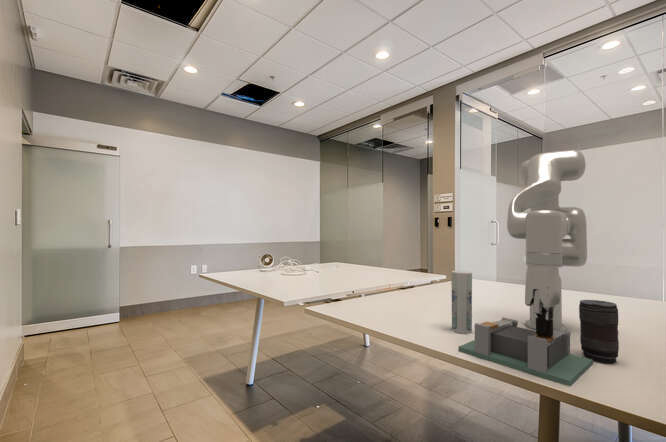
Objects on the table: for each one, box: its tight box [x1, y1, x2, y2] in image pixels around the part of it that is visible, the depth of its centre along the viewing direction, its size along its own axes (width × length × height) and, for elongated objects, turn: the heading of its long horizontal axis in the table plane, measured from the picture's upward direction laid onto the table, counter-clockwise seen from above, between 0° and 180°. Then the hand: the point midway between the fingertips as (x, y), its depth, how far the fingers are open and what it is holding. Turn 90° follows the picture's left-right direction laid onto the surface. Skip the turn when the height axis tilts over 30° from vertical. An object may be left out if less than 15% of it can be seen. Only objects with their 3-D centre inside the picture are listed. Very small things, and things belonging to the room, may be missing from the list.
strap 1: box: [479, 318, 513, 333], centre depth 91 cm, size 14×3×2 cm, turn 129°
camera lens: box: [578, 299, 620, 365], centre depth 86 cm, size 8×8×15 cm
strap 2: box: [534, 330, 566, 347], centre depth 81 cm, size 14×3×2 cm, turn 129°
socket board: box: [457, 317, 594, 387], centre depth 86 cm, size 19×26×9 cm
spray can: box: [450, 270, 473, 335], centre depth 109 cm, size 6×6×20 cm
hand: (544, 335), depth 78 cm, fingers closed
